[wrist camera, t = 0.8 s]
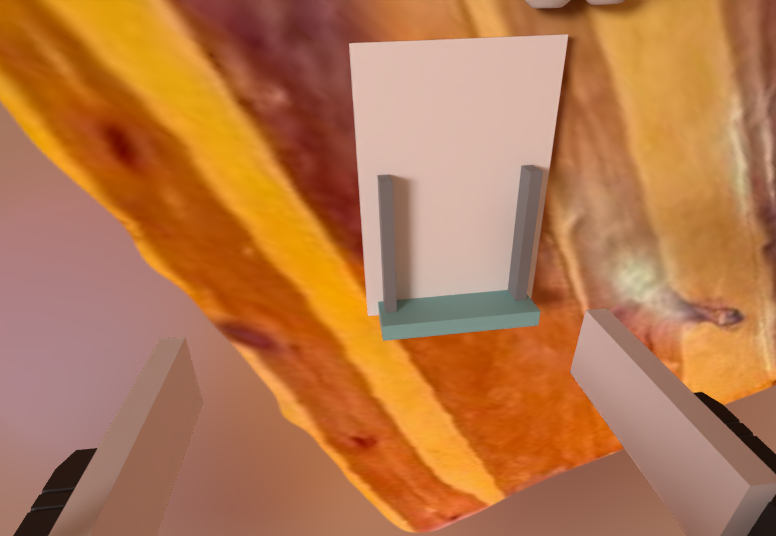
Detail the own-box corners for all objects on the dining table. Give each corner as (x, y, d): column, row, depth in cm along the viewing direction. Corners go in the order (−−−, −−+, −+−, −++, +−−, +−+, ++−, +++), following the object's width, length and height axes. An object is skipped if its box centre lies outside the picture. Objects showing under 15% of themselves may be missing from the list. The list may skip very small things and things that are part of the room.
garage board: (349, 43, 32) (352, 44, 27) (560, 34, 33) (597, 34, 28) (367, 309, 42) (371, 341, 38) (526, 294, 44) (548, 324, 39)
